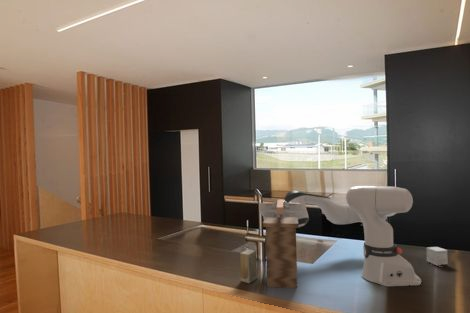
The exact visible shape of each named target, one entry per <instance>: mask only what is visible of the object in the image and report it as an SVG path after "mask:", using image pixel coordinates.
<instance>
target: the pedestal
mask: <svg viewBox="0 0 470 313" xmlns="http://www.w3.org/2000/svg"><path fill="white" fill-rule="evenodd" d="M262 227H263V228H265V244H266V245H265V246H266V247H265V250H266V251H265V252H266V259H265V260H266V286H267V288H286V289H287V288H289V289H298V266H297V265H298V261H297V228H296V227H299V226H298V219H297V217H265V218H263V222H262Z"/></svg>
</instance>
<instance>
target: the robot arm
mask: <svg viewBox="0 0 470 313" xmlns="http://www.w3.org/2000/svg"><path fill="white" fill-rule="evenodd" d="M345 199H346V202H343V203H341V202H338V201H335V200H333V199H331V197H330V196H325V195H320V194H314V193H313V194H312V193H306V192H302V191H300V190H290V191H288V192H287V193H286V195H285V196H284V198H283V214H277V202H278V200H274V202H259V204H258V211H259V214H260V215H261V216H262V218H263V219H264V218H265V217H297V219H298V226H299V227H296V229H299V228H303V227H305V226H306V225H307V223H308V222H309V221H310V218H309V213H308V209H307V206H306V205H307V204H311V205H316V206H317V207H318V208H319V209H321V211H322V213H323V214H324V216H325V217H326V219H327V221H329V222H330V223H332V224H334V225H350V224H353V223H354V224H355V223H358V222H359V223H360V222H361V224H360V226H362V227H363V233H364V234H363V235H364V243H363V256H364V258H363V260H364V261H363V267H362V271H361V277H362V278H363V279H364V280H366V281H368V282H372V283H375V284H379V285H381V286H384V287H406V286H407V287H409V285H410V286H421V285H422V284H421V282H422V279H421V278H420V276H418V275H417V274H416V272H415V269H414V267H413V265H412V264H411V263H410V262H409V261H408V260H406V259H405V258H404V257H402V256H401V255H400V254H402V253H403V249H402V248H400V247H398V246H396V245H395V244H394V228H393V227H392V225H391V224H390V223H389V222H388V220H386V217H388V218H389V217H392V216H393V217H394V216H395V215H397V214H401V213H403V214H404V213H408V212H409V211H410V210H411V208H412V207H413V203H414V200H413V195H412V193H411V192H410V190H408V189H407V188H404V187H398V186H390V185H389V186H381V185H355V186H351V187H350V188H349V189H348V190H347V192H346V196H345ZM420 284H421V285H420Z"/></svg>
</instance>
